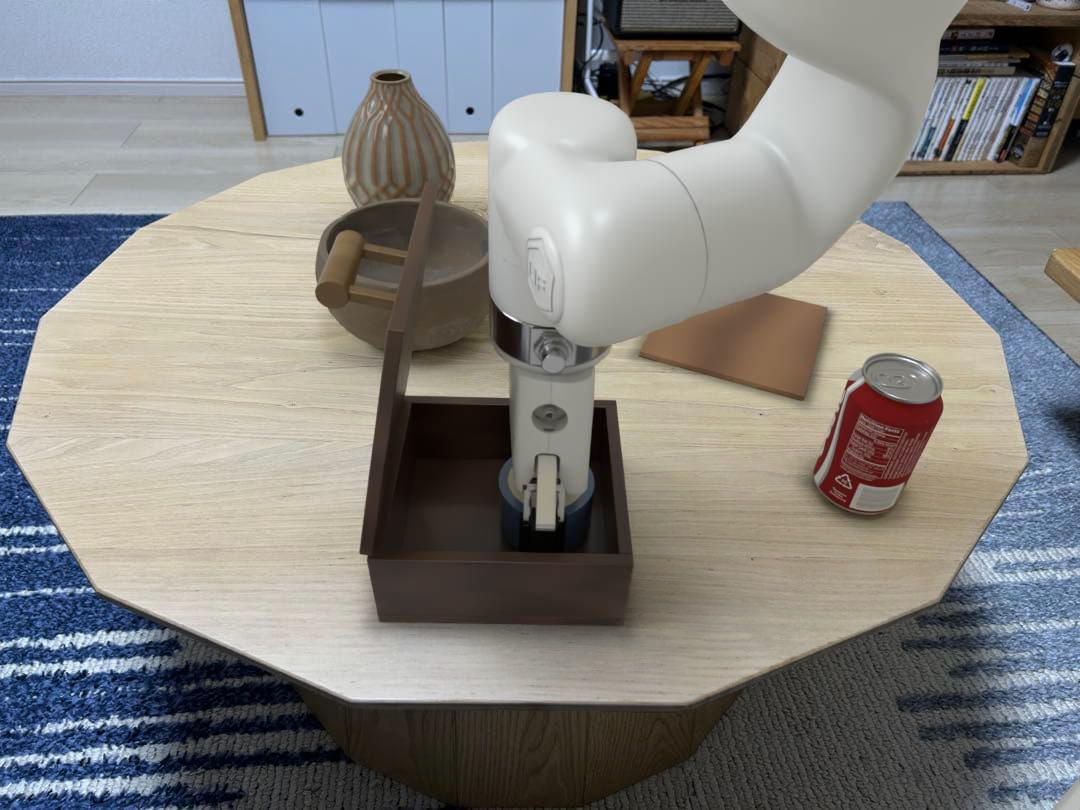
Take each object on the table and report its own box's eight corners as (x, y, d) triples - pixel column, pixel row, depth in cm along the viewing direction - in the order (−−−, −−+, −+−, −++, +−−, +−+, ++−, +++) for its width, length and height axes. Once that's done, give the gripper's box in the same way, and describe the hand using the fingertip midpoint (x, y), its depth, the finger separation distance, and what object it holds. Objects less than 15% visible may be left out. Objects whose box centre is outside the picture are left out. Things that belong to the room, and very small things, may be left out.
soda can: (903, 526, 60) (964, 412, 52) (815, 514, 61) (861, 400, 53) (888, 465, 65) (941, 352, 57) (806, 454, 66) (848, 342, 58)
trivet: (826, 311, 82) (827, 307, 82) (803, 401, 71) (804, 396, 71) (681, 277, 87) (682, 272, 86) (638, 355, 76) (639, 351, 75)
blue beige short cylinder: (603, 503, 60) (608, 462, 57) (570, 570, 55) (573, 530, 52) (521, 475, 62) (522, 434, 59) (483, 538, 57) (481, 497, 54)
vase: (344, 203, 98) (322, 60, 86) (446, 192, 101) (437, 52, 89) (358, 255, 88) (335, 102, 77) (469, 240, 91) (463, 91, 80)
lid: (438, 182, 48) (354, 164, 47) (404, 332, 36) (291, 311, 35) (405, 391, 60) (338, 379, 59) (371, 556, 48) (286, 544, 47)
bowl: (536, 317, 80) (538, 231, 73) (411, 402, 69) (400, 311, 63) (420, 260, 88) (412, 177, 81) (292, 328, 77) (272, 240, 71)
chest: (608, 461, 65) (616, 399, 60) (623, 626, 53) (634, 565, 48) (408, 457, 64) (401, 395, 60) (378, 621, 52) (366, 560, 48)
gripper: (626, 418, 39) (596, 610, 51) (606, 241, 52) (586, 428, 64) (480, 414, 39) (484, 607, 51) (496, 238, 52) (496, 425, 64)
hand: (541, 506), depth 57 cm, fingers closed on blue beige short cylinder, 7 cm apart
